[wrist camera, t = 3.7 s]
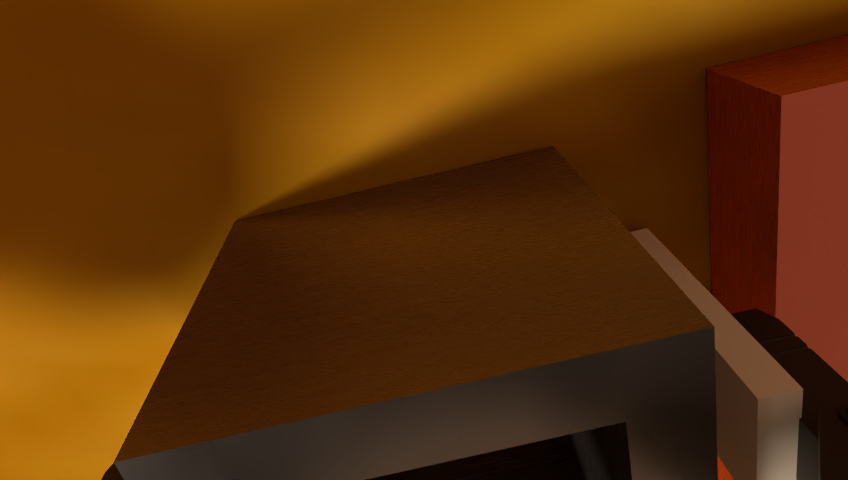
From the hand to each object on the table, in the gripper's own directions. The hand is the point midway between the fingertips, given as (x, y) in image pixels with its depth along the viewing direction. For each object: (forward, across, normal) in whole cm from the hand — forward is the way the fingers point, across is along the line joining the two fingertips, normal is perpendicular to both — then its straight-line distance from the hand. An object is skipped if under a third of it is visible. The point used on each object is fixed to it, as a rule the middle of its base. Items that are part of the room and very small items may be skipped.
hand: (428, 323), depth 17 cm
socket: (0, 0, 0) cm, 0 cm away
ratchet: (0, +10, -6) cm, 12 cm away
